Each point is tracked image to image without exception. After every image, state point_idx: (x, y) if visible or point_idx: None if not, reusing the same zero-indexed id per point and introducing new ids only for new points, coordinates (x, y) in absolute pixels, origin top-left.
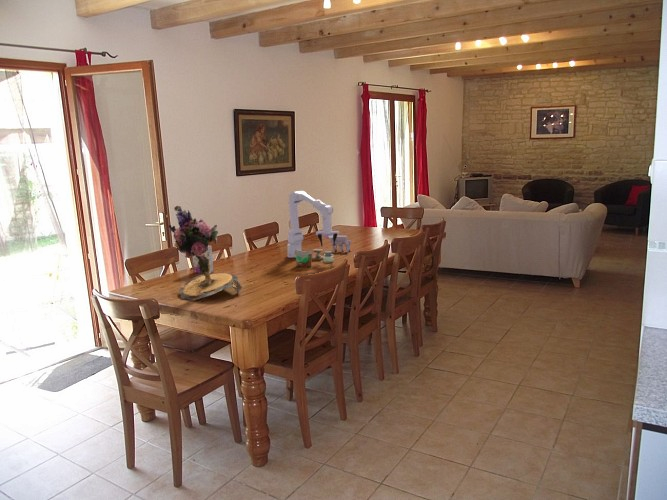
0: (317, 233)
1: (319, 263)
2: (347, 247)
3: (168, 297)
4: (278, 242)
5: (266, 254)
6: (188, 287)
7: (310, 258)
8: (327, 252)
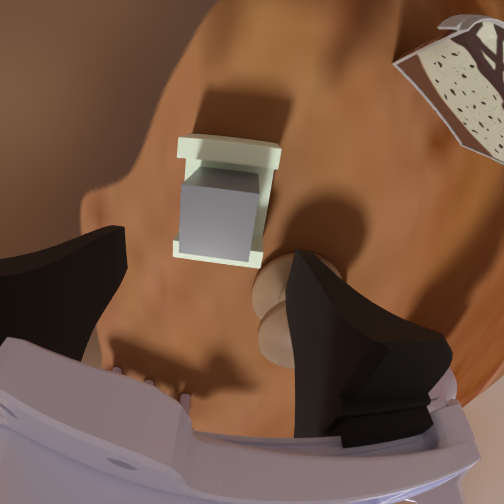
0: (449, 441)
1: (318, 122)
2: None
3: None
4: None
5: (458, 385)
6: None
7: (430, 40)
8: (228, 189)
